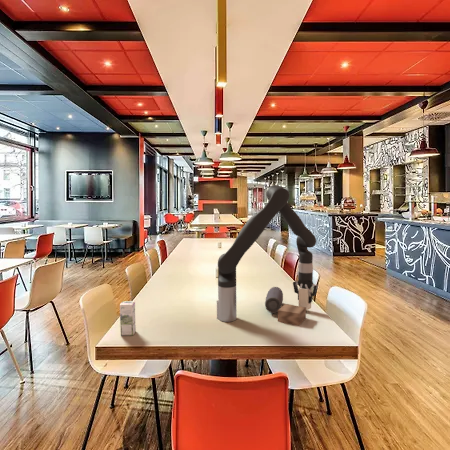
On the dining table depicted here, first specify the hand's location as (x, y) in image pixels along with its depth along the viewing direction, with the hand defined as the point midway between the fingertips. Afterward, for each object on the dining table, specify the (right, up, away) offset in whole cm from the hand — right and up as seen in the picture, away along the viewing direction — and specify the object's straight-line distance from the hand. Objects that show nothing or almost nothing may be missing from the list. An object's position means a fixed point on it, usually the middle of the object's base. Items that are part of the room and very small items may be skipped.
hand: (304, 301), depth 186 cm
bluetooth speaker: (-16, -5, +6) cm, 17 cm away
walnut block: (-9, -6, -12) cm, 17 cm away
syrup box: (-87, -8, -28) cm, 92 cm away
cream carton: (0, -3, 0) cm, 3 cm away
